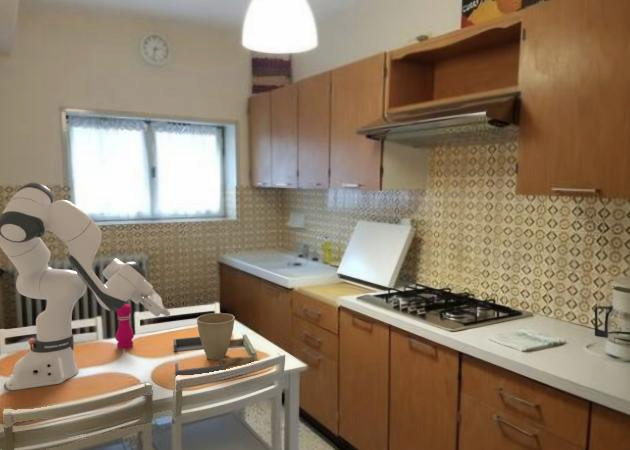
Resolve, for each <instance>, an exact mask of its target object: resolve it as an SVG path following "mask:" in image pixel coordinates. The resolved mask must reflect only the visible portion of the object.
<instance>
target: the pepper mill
mask: <svg viewBox="0 0 630 450" xmlns="http://www.w3.org/2000/svg"><path fill="white" fill-rule="evenodd" d="M115 312H116V314H117V320H118V328H117V331H116V333H115V340H116V342H117V344H116V345H117V346H116V347H117V349H120V350H126V349H130V348H132V347H133V346H134V341H133V339H134V337H135V334H134V331H133V329H132V327H131V323H130V319H131V312H132V307H131V305H130V304H127V302H126V303H125V304H124V306H123V307H122V308H121V309H119V310H116V311H115Z"/></svg>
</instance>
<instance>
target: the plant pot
mask: <svg viewBox="0 0 630 450" xmlns="http://www.w3.org/2000/svg"><path fill="white" fill-rule="evenodd" d="M196 324H197V330H198V334H199V335H198V336H199V337H200V339H201V343H202V346H203V349H202V350H203V352H204V354H205V356H206V358H207V359H208V360H212V361H214V360H215V361H217V360H218V361H219V359H221V358H222V359H225V357H226V356H227V353H228V350H229V347H230V346H229V344H230V340H231V339H232V336H233V331H234V326H235V316H234V315H233V314H231V313H223V312H214V313H213V312H212V313H211V312H210V313H205V314H202V315H200V316H198V317H196Z"/></svg>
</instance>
